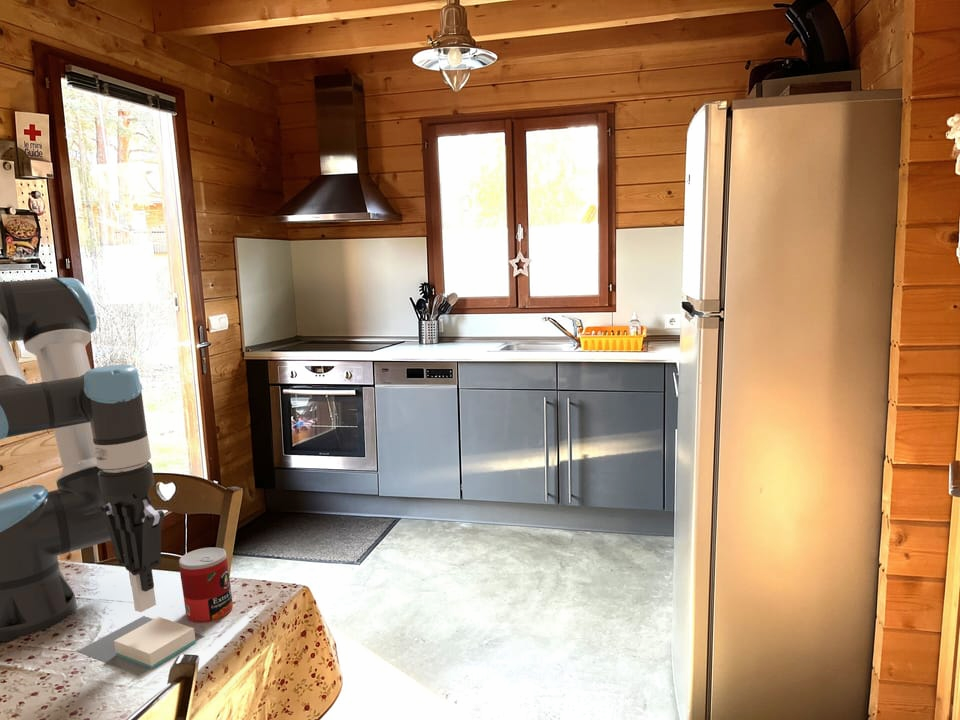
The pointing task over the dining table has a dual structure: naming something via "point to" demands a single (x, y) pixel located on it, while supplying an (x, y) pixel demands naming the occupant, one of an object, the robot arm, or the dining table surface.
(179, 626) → the tile
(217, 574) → the canned food
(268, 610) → the dining table surface
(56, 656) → the dining table surface
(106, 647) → the slate board
